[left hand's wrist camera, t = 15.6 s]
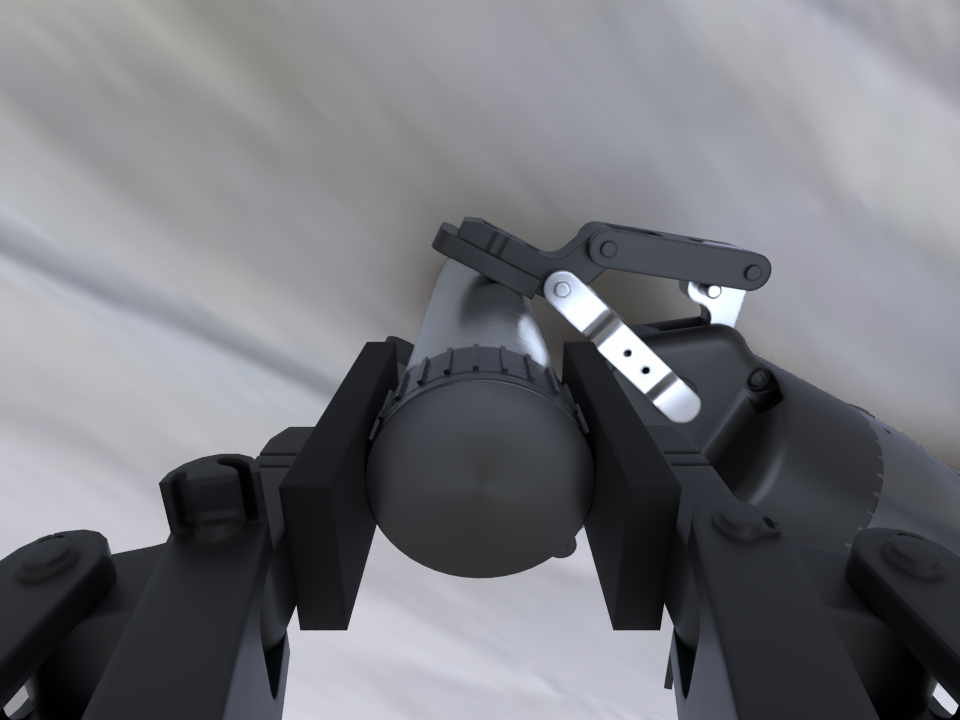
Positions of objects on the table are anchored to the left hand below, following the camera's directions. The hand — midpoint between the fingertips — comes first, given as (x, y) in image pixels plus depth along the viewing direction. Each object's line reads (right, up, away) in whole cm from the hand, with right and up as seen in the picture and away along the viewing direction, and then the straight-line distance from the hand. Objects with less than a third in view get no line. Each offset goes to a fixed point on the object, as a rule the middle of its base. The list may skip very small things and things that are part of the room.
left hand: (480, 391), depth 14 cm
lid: (0, -1, -4) cm, 4 cm away
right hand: (-2, +3, +5) cm, 6 cm away
